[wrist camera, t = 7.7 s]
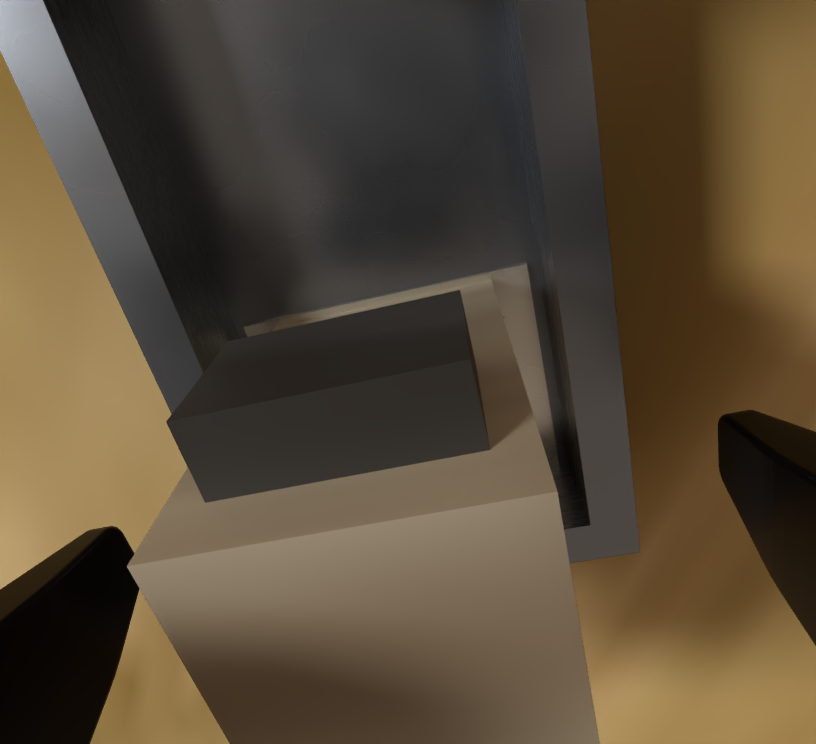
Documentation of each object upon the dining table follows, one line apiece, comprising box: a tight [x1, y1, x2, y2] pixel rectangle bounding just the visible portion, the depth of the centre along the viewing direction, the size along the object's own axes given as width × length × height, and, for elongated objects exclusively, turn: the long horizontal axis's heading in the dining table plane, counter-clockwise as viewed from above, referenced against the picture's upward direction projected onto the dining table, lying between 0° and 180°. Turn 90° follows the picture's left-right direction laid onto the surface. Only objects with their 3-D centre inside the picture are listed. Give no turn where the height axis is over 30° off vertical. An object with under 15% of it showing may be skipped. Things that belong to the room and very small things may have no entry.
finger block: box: [127, 280, 600, 744], centre depth 9 cm, size 5×4×6 cm
